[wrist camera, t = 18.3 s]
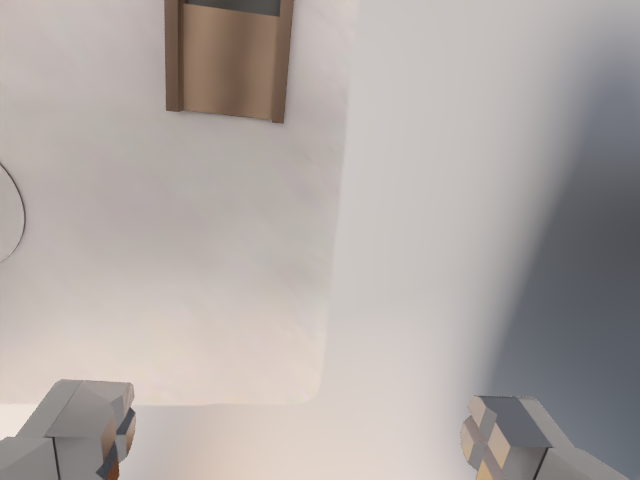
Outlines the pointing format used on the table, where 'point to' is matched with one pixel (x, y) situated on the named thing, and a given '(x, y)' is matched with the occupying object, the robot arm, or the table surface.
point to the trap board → (228, 56)
